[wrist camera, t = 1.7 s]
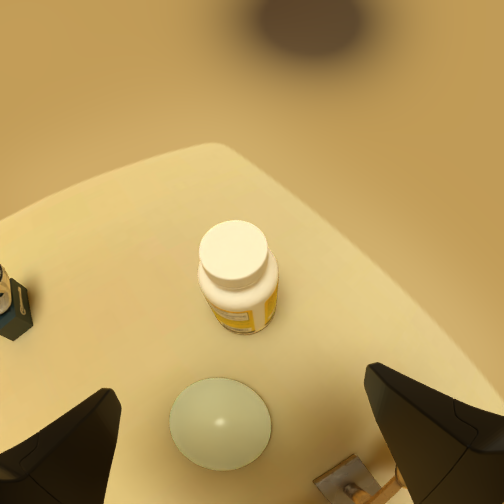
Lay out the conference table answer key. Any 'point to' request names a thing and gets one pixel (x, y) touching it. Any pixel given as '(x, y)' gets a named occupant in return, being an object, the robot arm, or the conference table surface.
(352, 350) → the conference table surface
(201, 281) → the supplement bottle
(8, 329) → the watch
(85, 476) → the robot arm
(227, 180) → the conference table surface
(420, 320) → the conference table surface
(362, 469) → the balance
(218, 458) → the dish
